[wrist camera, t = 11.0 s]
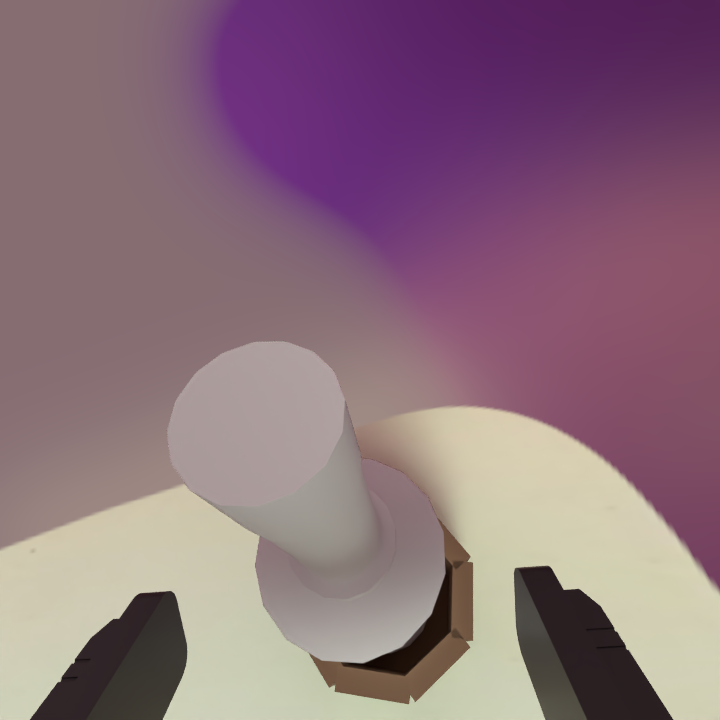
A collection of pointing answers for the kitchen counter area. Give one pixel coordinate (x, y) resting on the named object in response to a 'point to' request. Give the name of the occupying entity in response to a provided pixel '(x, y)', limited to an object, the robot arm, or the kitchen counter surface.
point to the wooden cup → (417, 642)
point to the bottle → (310, 502)
